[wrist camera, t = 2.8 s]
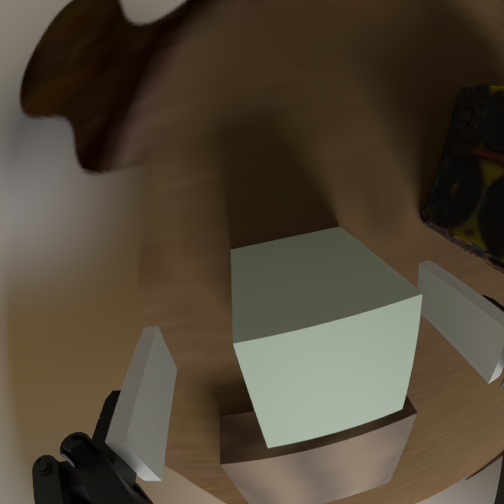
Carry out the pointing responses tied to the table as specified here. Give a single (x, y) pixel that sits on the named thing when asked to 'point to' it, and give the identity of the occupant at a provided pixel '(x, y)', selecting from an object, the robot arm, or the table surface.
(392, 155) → the table surface
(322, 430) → the sage block
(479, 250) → the candle
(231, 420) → the walnut block
